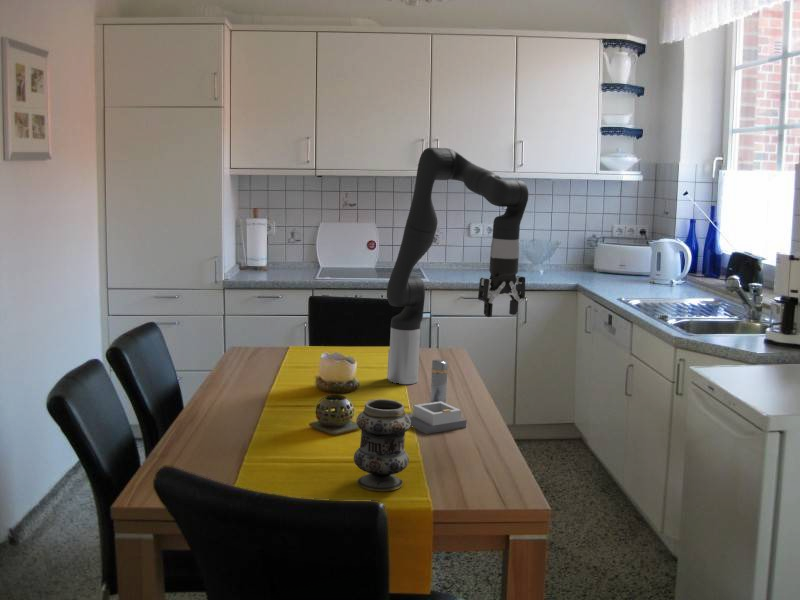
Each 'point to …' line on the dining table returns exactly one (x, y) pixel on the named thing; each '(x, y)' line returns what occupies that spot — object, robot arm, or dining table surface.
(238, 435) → the dining table surface
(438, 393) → the metal canister
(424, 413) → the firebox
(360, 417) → the apothecary jar
